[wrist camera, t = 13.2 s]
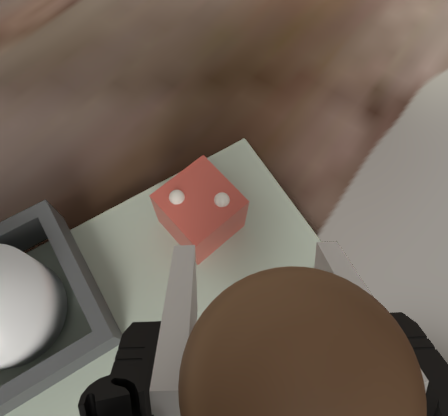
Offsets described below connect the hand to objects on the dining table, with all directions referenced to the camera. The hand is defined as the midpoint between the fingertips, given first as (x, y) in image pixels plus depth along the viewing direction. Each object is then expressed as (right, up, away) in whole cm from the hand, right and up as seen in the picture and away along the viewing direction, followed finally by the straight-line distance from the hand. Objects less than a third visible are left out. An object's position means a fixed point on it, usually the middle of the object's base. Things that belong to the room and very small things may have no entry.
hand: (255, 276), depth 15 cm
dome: (-13, -3, +7) cm, 15 cm away
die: (-3, +2, +11) cm, 12 cm away
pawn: (+1, -4, +1) cm, 5 cm away
